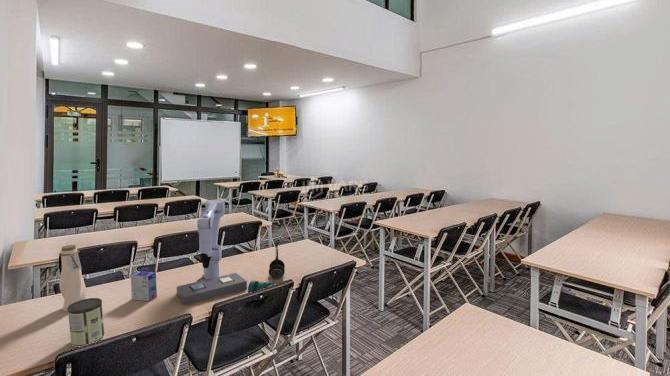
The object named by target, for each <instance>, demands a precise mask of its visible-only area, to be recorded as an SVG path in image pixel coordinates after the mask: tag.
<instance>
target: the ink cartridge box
mask: <svg viewBox="0 0 670 376" xmlns="http://www.w3.org/2000/svg"><path fill="white" fill-rule="evenodd" d="M130 286H131V287H130V289H131V300H135V301H137V300H138V301H144V302H149V301H153V300H155V299H156V298H157V297H158V293H157V292H158V291H157V289H158V288H157V272H153V271H149V267H145V266H143V267H141V269H140V270H139V271H136V272H134V273H132V274H130Z"/></svg>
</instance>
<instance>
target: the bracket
mask: <svg viewBox="0 0 670 376" xmlns="http://www.w3.org/2000/svg"><path fill="white" fill-rule="evenodd" d="M274 284H276V285H277V282H275V281H270V280H269V281H259V280H254V279H253V280H251V281H250V282H249V283H248V285H247V294H248V293H250V292H254V291H258V290H260V289H263V288H267V287H269V286H271V285H274Z"/></svg>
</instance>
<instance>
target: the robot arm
mask: <svg viewBox="0 0 670 376" xmlns="http://www.w3.org/2000/svg"><path fill="white" fill-rule="evenodd" d="M225 206H226V203H225V200H224V199H222V200H221V199H219V200H213V199H211V200H208V199H207V200H206V201H205V206H204V207H205V211H204V212H203V213H202V215H201V217H200V218H198V219H197V223H196V227H197V233H198V239H199V240H198V241H199V242H198V245H199V248H198V250H197V251H196V252H197V254H198V253H199V254H198V256H199V258H200V260H201V264H202V268H203V274H202V275H201V276H202V278H204V280H207V279H211V278H216V277H220V276H222V275H221V274H220V262H221V260H222V257H223V256H222V255H223V253H222V252H223V251H222V247H221V245H219V244H218V240H219V230H220V223H221V218H222V217H224V215H225V211H226V207H225Z"/></svg>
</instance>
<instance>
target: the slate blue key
mask: <svg viewBox="0 0 670 376" xmlns="http://www.w3.org/2000/svg"><path fill="white" fill-rule="evenodd" d="M201 289H205V287H204V285H203V284H202V283H201V284H197V285H193V286H191V290H192V291H197V290H201Z"/></svg>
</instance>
